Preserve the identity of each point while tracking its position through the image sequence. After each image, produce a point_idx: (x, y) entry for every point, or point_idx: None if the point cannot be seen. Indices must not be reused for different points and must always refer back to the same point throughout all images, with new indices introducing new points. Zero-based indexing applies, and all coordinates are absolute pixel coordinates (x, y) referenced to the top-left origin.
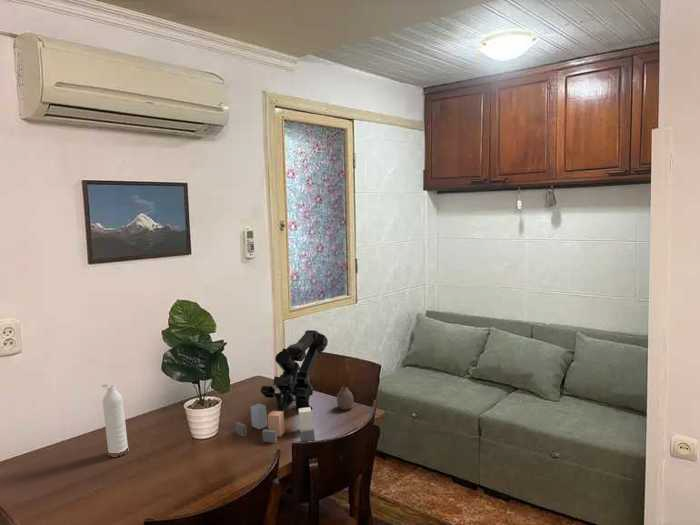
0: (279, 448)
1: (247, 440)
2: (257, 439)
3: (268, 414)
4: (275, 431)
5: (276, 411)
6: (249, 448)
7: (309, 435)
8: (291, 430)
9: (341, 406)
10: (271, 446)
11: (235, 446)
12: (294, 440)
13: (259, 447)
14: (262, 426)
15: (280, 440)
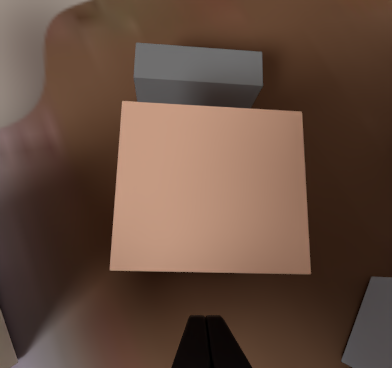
0: (83, 25)
1: (355, 103)
2: None
3: (296, 126)
4: (135, 56)
5: (226, 250)
6: (281, 7)
7: None
8: (92, 320)
9: None
10: None
11: (381, 22)
12: (8, 147)
13: (224, 24)
14: (367, 313)
15: None
